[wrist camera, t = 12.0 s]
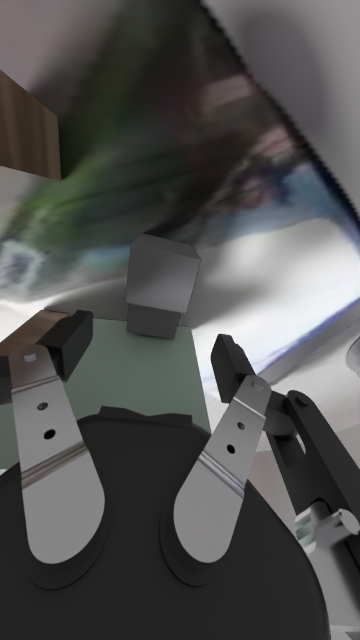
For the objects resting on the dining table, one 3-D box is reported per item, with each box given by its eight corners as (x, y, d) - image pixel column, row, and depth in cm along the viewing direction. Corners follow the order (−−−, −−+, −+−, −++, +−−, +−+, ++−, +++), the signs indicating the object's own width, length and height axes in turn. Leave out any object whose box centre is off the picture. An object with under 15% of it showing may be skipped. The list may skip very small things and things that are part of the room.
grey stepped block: (191, 244, 20) (200, 259, 14) (173, 320, 24) (174, 354, 18) (142, 233, 19) (131, 243, 13) (132, 313, 23) (120, 346, 18)
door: (187, 342, 25) (209, 488, 12) (77, 333, 23) (-34, 490, 10) (190, 326, 24) (218, 469, 11) (75, 316, 22) (-55, 469, 9)
